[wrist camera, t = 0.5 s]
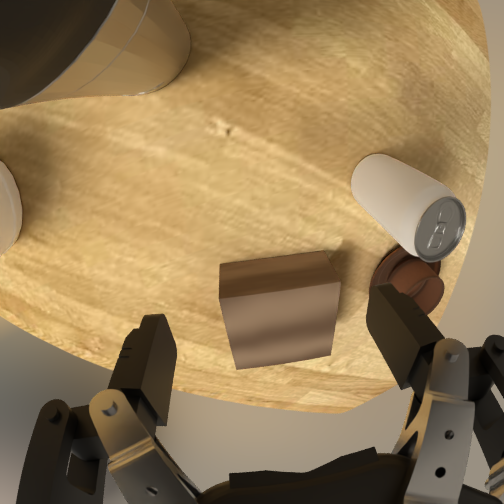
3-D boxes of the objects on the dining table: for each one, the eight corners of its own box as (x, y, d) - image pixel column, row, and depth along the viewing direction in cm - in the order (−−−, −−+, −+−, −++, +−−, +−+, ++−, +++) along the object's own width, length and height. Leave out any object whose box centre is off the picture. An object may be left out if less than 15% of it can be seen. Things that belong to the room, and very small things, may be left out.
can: (404, 158, 26) (478, 198, 16) (391, 210, 29) (452, 267, 19) (355, 147, 25) (426, 184, 15) (343, 204, 29) (399, 266, 18)
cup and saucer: (436, 280, 36) (456, 305, 31) (373, 317, 39) (389, 347, 34) (428, 220, 31) (456, 243, 25) (354, 263, 33) (374, 294, 28)
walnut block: (219, 264, 31) (218, 298, 26) (323, 250, 31) (341, 281, 26) (234, 335, 38) (236, 369, 32) (319, 322, 38) (330, 355, 33)
